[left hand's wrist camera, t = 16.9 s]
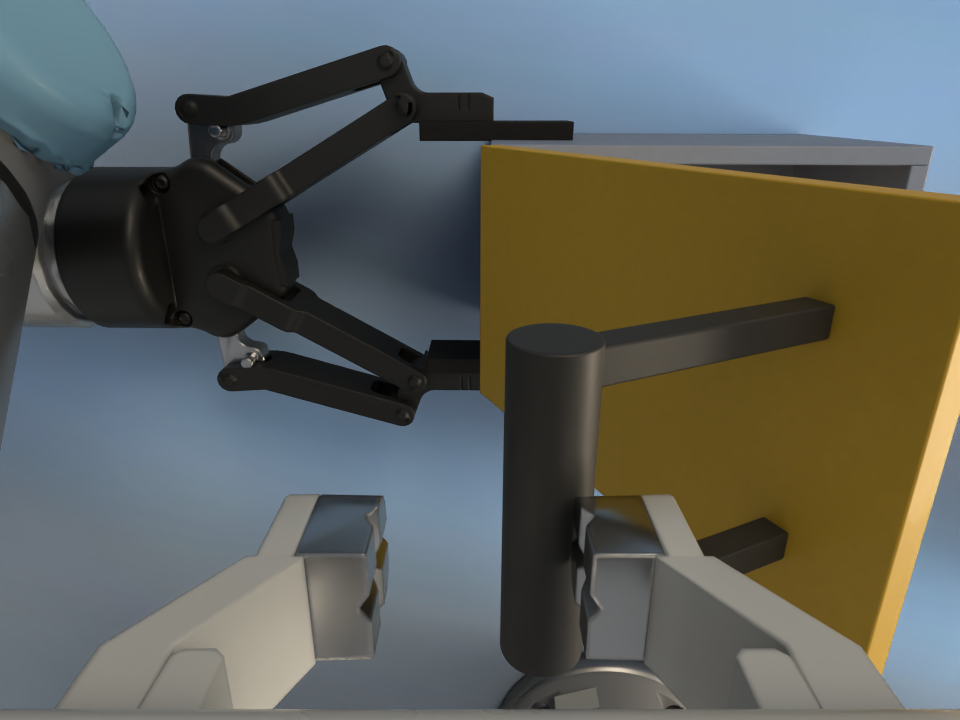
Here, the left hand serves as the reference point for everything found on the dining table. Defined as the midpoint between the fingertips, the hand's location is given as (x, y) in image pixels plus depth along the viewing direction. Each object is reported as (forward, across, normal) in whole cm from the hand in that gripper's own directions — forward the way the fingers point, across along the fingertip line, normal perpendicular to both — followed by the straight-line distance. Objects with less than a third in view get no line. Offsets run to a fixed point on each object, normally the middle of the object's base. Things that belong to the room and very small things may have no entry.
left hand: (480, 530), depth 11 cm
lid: (+9, +5, 0) cm, 10 cm away
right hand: (+22, +4, 0) cm, 22 cm away
